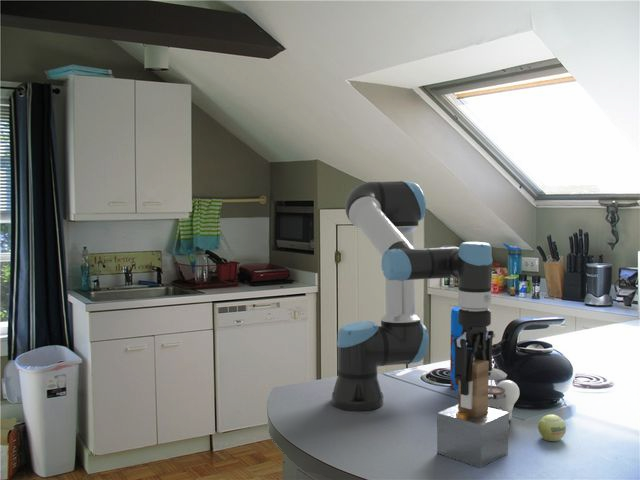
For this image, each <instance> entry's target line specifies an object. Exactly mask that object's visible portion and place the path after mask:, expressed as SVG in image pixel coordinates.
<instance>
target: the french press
mask: <svg viewBox="0 0 640 480" xmlns="http://www.w3.org/2000/svg"><path fill="white" fill-rule="evenodd" d="M493 338H496V334H495V333H494V334H493ZM489 372H491V375H490V376H489V380H490V385H488V407H489V408H493V409H497V410H501V411H505V412H506V395H505V394H504V398H502V399H497V397H494V396H497V395H498V394H502V393H504V392H505V389H503V388H501V387H499V386H497V385H492V384H493V383H492V382H493V381H503V380H506V379H507V376H508V374H507V373H506V372H504V371H503V370H501V369H498V368H496V367H495V368H494V367H492V370H491V371H489ZM489 380H488V381H489ZM489 395H491V396H489ZM508 429H510V424H509V426H508Z"/></svg>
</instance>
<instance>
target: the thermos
mask: <svg viewBox="0 0 640 480" xmlns="http://www.w3.org/2000/svg"><path fill="white" fill-rule="evenodd" d="M460 308H461V307H459V306H454V307H451V310H450V311H451V312H450V362H449V363H450V364H449V365H450V366H449V368H450V369H449V370H450V371H449V377H450V389H452V390H453V391H456V392H459V380H457V379H455V344H454V338H459V337H461V333H462V328H463V327H462V326H461V325H460V324H459V323H458V310H459V309H460ZM469 349H472V348H469ZM474 358H475V356H474Z"/></svg>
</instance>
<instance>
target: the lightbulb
mask: <svg viewBox="0 0 640 480" xmlns="http://www.w3.org/2000/svg"><path fill="white" fill-rule="evenodd" d="M496 386H499V387H501V388H503V389H505V392H504V393H502V394H498V395H497V396H496V395H495V396H496V397H495V398H497V399H502V398H504V394H505V395H506V412H509V421H510V420H512V417H513V416H512V415H513V409H514V405H515V404H516V402H517V401H518V399H519V397H520V388H519V386H518V384H517V383H516V382H514V381H513V380H510V379H503V380H500V381H499V382H498V383H497V384H496Z"/></svg>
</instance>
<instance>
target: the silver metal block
mask: <svg viewBox="0 0 640 480" xmlns="http://www.w3.org/2000/svg"><path fill="white" fill-rule="evenodd" d="M436 415H437V420H436V421H437V427H436V431H437V432H436V435H437V436H436V438H437V439H436V440H437V441H436V442H437V443H436V445H437V446H436V454H437V455H440V454H441V455H440V456H443V455H444V456H443V457H446V456H447V458H449V457H450V458H449V459H452V458H453V459H452V460H455V459H456V460H455V461H458V460H460V461H459V462H461V461H462V462H461V463H464V462H465V463H464V464H467V463H468V464H467V465H470V464H472V465H471V466H473V465H475V466H474V467H476V466H478V467H477V468H479V467H482V466H484V465H485V466H487V465H489V464H491V463H492V462H491V461H493V460H495V459H496V460H498V459H500V458H502V457H503V455H504V456H506V455H507V454H509V428H508V426H509V425H510V424H509V423H510V422H509V421H510V420H509V412H505V411H501V410H500V409H499V410H497V409H493V408H489V407H488V414H486V415H483V416H481V417H479V418H474V417H470V416H468V413H466V412H462V411H460V412H458V404H456V405H454V406H451V407H448V408H446V409H444V410H441V411H438V412H437V413H436ZM509 427H510V426H509ZM506 453H507V454H506ZM505 454H506V455H505ZM501 456H502V457H501ZM499 457H500V458H499ZM497 458H498V459H497ZM496 460H495V461H496ZM490 462H491V463H490ZM493 462H494V461H493ZM488 463H489V464H488ZM486 464H487V465H486ZM485 466H484V467H485ZM482 468H483V467H482Z"/></svg>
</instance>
